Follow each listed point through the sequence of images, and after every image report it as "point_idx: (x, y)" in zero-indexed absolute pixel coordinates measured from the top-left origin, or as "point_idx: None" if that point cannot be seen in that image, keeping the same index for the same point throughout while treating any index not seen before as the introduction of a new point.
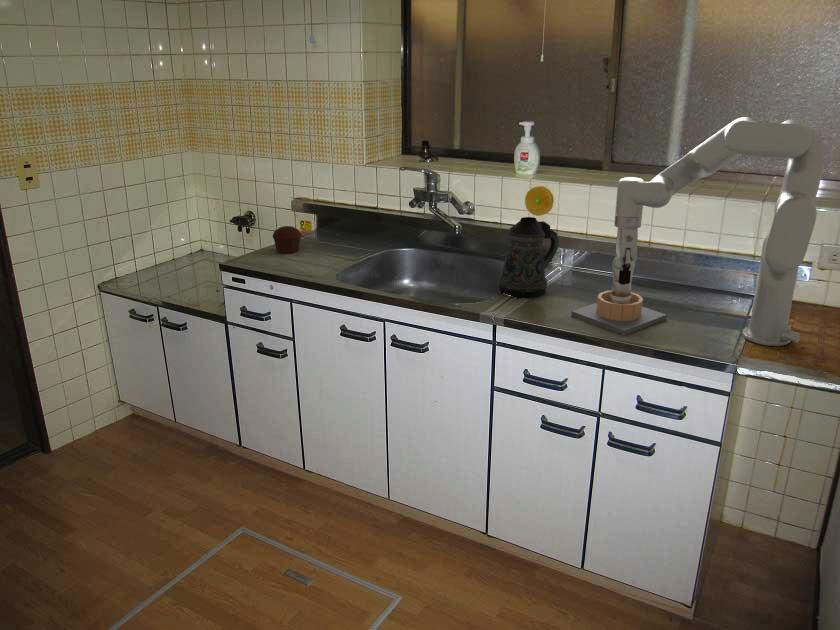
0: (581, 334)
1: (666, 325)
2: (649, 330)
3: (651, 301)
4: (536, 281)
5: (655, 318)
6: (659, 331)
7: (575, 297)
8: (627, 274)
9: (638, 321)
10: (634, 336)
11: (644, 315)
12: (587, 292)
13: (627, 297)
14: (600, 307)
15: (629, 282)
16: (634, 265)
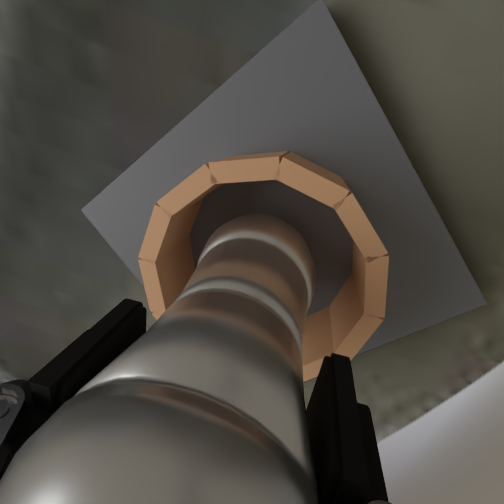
0: (415, 418)
1: (407, 37)
2: (450, 160)
3: (67, 11)
4: None
5: (366, 93)
6: (480, 111)
7: (74, 320)
8: (380, 481)
9: (390, 202)
10: (500, 255)
11: (315, 142)
12: (17, 266)
13: (303, 274)
14: None
15: (349, 363)
16: (236, 444)
